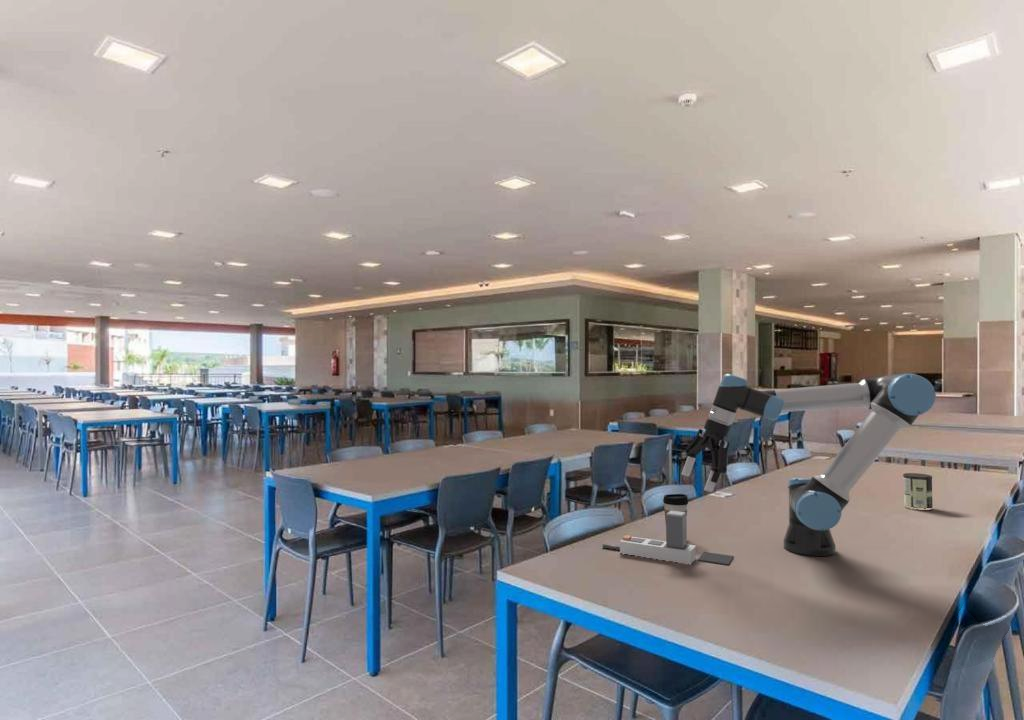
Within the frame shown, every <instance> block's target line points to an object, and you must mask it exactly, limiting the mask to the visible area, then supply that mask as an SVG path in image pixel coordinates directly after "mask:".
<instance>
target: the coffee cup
mask: <svg viewBox="0 0 1024 720" xmlns="http://www.w3.org/2000/svg"><path fill="white" fill-rule="evenodd" d="M688 498H689V497H688V495H687V494H684V493H674V494H673V493H672V494H669V493H668V494H665V495H664V496H663V499H662V501H663V502H662V503H663V505H664V508H663V510H664V519H665V520H664V521H665V522H666V515H667V513H668V512H669V511H680V512H686V517H687V516H688V509H687V506H688V504H689V500H688ZM687 518H688V517H687Z"/></svg>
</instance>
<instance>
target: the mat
mask: <svg viewBox="0 0 1024 720" xmlns="http://www.w3.org/2000/svg"><path fill="white" fill-rule="evenodd" d="M734 557H735V555H730V554H729V555H728V554H722V553H721V554H720V553H715V552H707V551H703V552H702V554H700V556H699V557H698V559H697V562H702V561H703V563H709V564H710V563H711V564H717V565H722V564H724V566H730V564H731V563H732V561H733V559H734ZM730 562H731V563H730Z"/></svg>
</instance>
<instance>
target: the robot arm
mask: <svg viewBox="0 0 1024 720" xmlns="http://www.w3.org/2000/svg"><path fill="white" fill-rule="evenodd" d="M719 383H720V384H719V385H718V388H717V392H716V393H715V397H714V400H713V402H712V405H711V408H710V411H709V413H708V418H707V419H706V421H705V423H704V425H703V429H701V428H699V429H698V431H697V433H696V435H695V436H694V437H693V439H692V440H691V441H690V443H689V444H687V446H686V447H685V449H684V452H685V453H686V455H687V456H686V459H685V461H684V466H683V468H682V471H681V476H685V477H689V478H690V475H691V473H692V470H693V467H694V464H695V462H696V458H697V455H699V454H700V453H701V452H702V451H704V450H705V449H706V448H707V450H709V451H710V453H711V461H712V469H711V470H710V472H709V475H708V478H707V480H706V482H705V486H704V489H703V490H704V491H706V492H710V493H713V491H714V489H715V487H716V484H717V482H718V480H719V477H720V475H721V474H727V471H728V470H727V469H728V450H729V447H730V442H729V441H726V440H724V438H726V437H728V435H729V433H730V430H731V426H730V425H733V423H734V419H735V416H736V414H737V411H738V409H739V410H742V411H745V412H747V413H750V414H753V415H756V416H758V417H761V418H764V419H766V420H770V421H777V420H778V419H779V417H780V415H781V413H787V412H788V413H789V412H803V411H814V410H815V411H816V410H818V411H819V410H829V409H830V410H831V409H832V410H833V409H846V408H864V409H865V410H871V411H870V413H869V414H868V415H867V416H866V418H865V419H864V420H863V421H862V423H861V424H860V426H859V427H858V428H857V429H856V431H855V432H854V433H853V434H852V436H851V437H850V438H849V439H848V441H847V442H846V443H845V444H844V445H843V447H842V448H841V450H840V451H839V452H838V453H837V454H836V456H835V457H834V458H833V460H832V461H831V462H830V463H829V465H828V466H827V467H826V468H825V470H824V471H823V472H822V473H821V474H816V475H812V477H811V478H807V477H805V478H804V477H791V478H790V479H788V485H787V488H788V526H787V529H786V532H785V534H784V537H783V548H784V549H785V550H787V551H789V552H791V553H795V554H799V555H805V556H810V557H811V556H812V557H828V556H833V554H834V555H835V554H836V552H837V551H836V546H837V545H836V543H835V540H834V537H833V535H832V531H831V529H833V528H834V527H835V526H837V525H838V523H839V522H840V520H841V517H842V511H843V510H844V509H845V507H846V506H847V505H848V504H849V502H850V500H851V499H850V492H851V490H852V489H854V487H855V486H856V485H857V483H858V482H859V481H860V479H861V478H862V477H863V476H864V474H866V472H867V470H868V469H869V468H871V466H872V464H873V463H874V462H875V461H876V460H877V458H878V457H879V456H880V454H882V452H883V451H884V449H886V447H887V446H888V445H889V444H890V442H891V441H892V440H893V438H895V436H896V435H897V433H899V431H900V430H901V429H904V428H910V427H911V426H912V425H913V423H914V422H915V421H916V420H917V418H918V417H919V416H921V415H923V414H925V413H926V412H928V411H930V410H931V408H933V406H934V405H935V402H936V396H937V395H936V389H935V388H934V386H933V384H932V382H930V381H929V380H928V379H927V378H926V377H923V376H921V375H920V374H919V375H918V374H916V373H911V372H906V373H905V372H904V373H892V374H889V375H888V374H887V375H884V376H878V377H873V378H865V379H864V378H863V379H861V380H860V381H859V382H854V383H843V384H842V383H841V384H829V385H819V386H818V385H816V386H805V387H793V388H792V387H791V388H781V389H768V390H758V389H756V388H752V387H750V386H748V380H747V379H745V378H742V377H740V376H736V375H734V374H730V373H726V374H724V375H723V377H722V380H721V381H720V382H719Z"/></svg>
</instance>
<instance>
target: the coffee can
mask: <svg viewBox="0 0 1024 720" xmlns="http://www.w3.org/2000/svg"><path fill="white" fill-rule="evenodd" d="M902 477H903V482H902V483H903V506H904V505H906V506H909V507H913V508H924V509H926V508H932V507H933V476H932V475H930V474H926V473H925V474H924V473H913V472H908V473H907V472H906V473H903V474H902Z"/></svg>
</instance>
